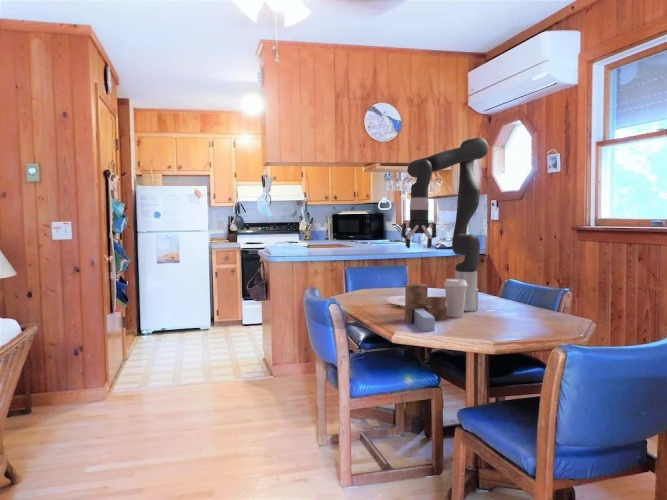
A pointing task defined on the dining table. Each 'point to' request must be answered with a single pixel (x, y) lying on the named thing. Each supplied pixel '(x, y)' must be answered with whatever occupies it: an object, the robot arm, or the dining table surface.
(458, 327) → the dining table surface
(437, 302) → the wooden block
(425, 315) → the grey rectangular bar
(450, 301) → the coffee cup
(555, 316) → the dining table surface
